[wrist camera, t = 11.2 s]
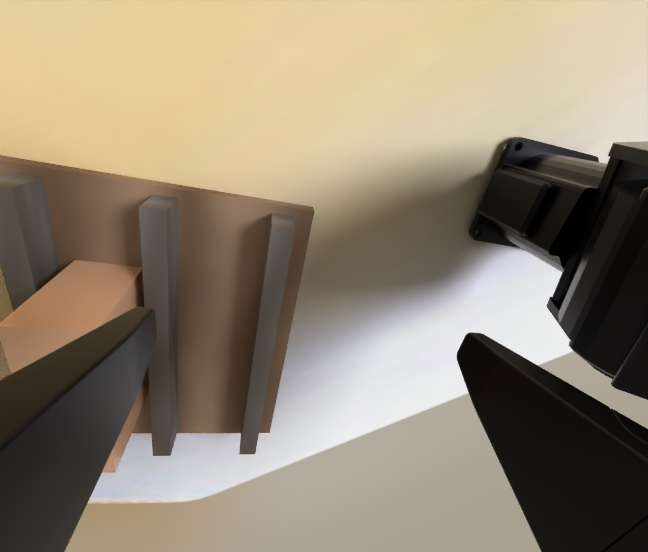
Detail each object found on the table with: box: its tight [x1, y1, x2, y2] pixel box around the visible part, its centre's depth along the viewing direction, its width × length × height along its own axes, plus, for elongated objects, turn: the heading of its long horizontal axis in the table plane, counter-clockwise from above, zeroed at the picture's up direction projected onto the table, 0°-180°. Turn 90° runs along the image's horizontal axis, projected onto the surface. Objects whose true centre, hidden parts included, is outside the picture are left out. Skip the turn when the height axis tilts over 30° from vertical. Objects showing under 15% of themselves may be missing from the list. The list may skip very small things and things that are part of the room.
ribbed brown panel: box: [0, 156, 314, 456], centre depth 21 cm, size 16×20×3 cm
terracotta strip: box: [0, 260, 149, 472], centre depth 18 cm, size 4×10×6 cm, turn 168°
